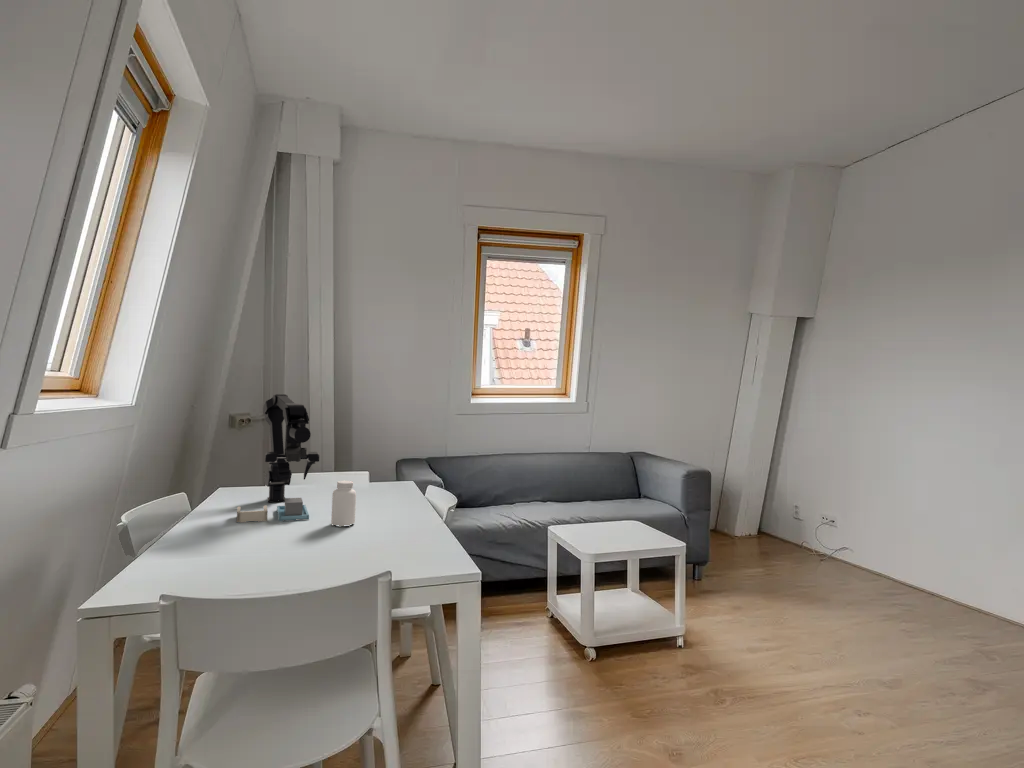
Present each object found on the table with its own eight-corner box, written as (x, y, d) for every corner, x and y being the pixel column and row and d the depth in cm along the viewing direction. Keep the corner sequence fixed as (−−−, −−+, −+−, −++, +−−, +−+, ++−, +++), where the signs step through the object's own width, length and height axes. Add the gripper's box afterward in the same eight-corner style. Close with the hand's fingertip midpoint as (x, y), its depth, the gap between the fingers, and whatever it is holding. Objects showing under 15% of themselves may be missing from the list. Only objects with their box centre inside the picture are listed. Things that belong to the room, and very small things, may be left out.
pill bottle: (358, 522, 210) (360, 480, 210) (349, 528, 202) (351, 485, 202) (336, 520, 211) (338, 478, 211) (327, 526, 203) (329, 483, 203)
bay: (237, 516, 210) (237, 506, 209) (266, 515, 213) (266, 505, 213) (236, 522, 202) (237, 512, 202) (267, 521, 206) (267, 511, 206)
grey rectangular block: (283, 509, 219) (284, 495, 219) (299, 509, 222) (300, 494, 221) (285, 518, 208) (285, 502, 208) (302, 517, 211) (302, 502, 210)
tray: (277, 510, 221) (277, 506, 221) (305, 508, 225) (305, 504, 225) (278, 521, 207) (279, 516, 206) (308, 519, 211) (309, 515, 210)
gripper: (266, 441, 209) (264, 485, 210) (321, 442, 217) (319, 484, 218) (266, 436, 219) (263, 478, 220) (318, 437, 227) (316, 477, 228)
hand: (291, 479), depth 221 cm, fingers open, 9 cm apart
